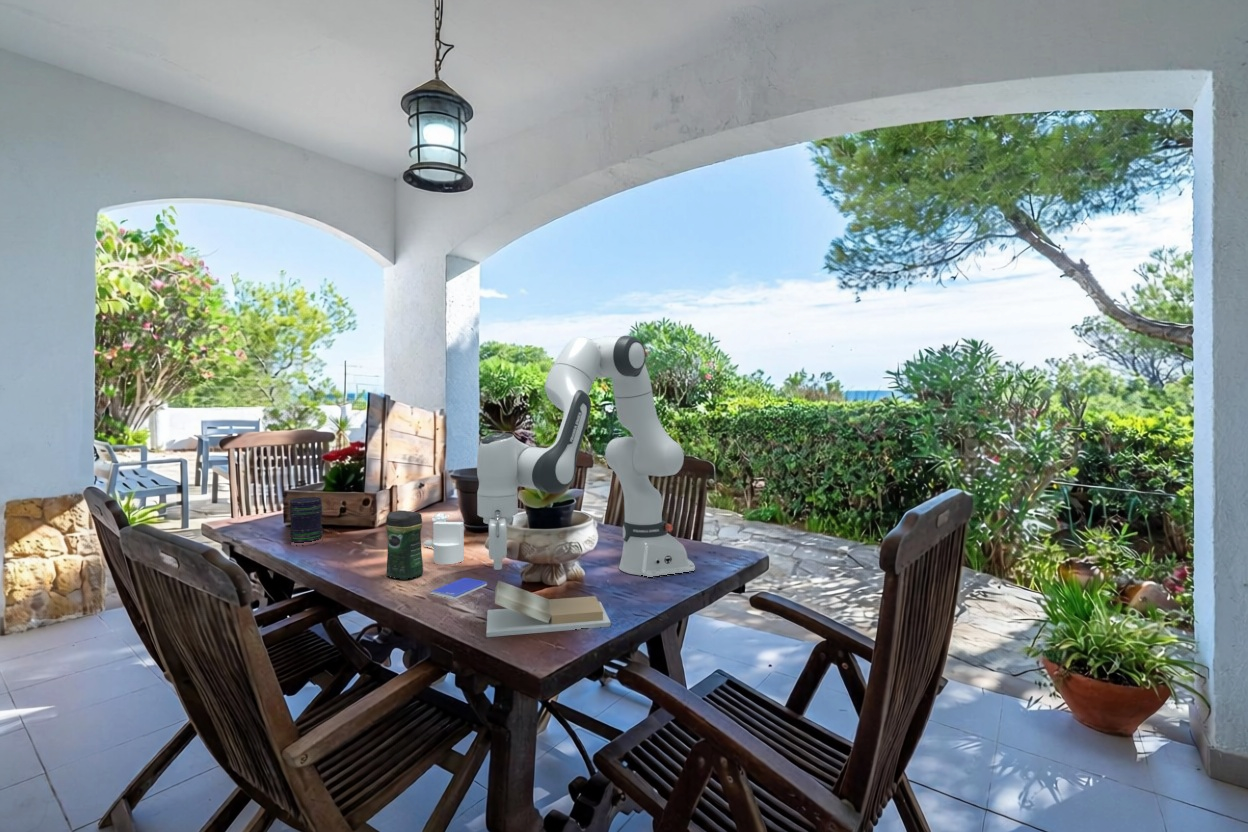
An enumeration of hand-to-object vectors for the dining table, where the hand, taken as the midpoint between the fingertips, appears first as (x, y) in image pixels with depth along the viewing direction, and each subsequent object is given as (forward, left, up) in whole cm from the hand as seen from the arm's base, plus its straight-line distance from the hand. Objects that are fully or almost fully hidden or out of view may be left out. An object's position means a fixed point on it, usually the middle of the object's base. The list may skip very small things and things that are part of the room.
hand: (498, 567), depth 129 cm
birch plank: (-5, 0, -9) cm, 10 cm away
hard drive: (+10, -25, -14) cm, 31 cm away
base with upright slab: (+15, -53, -13) cm, 56 cm away
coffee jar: (+26, -41, -13) cm, 50 cm away
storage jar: (+65, -86, -13) cm, 108 cm away
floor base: (-11, 0, -13) cm, 17 cm away
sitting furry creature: (+19, -70, -13) cm, 73 cm away
